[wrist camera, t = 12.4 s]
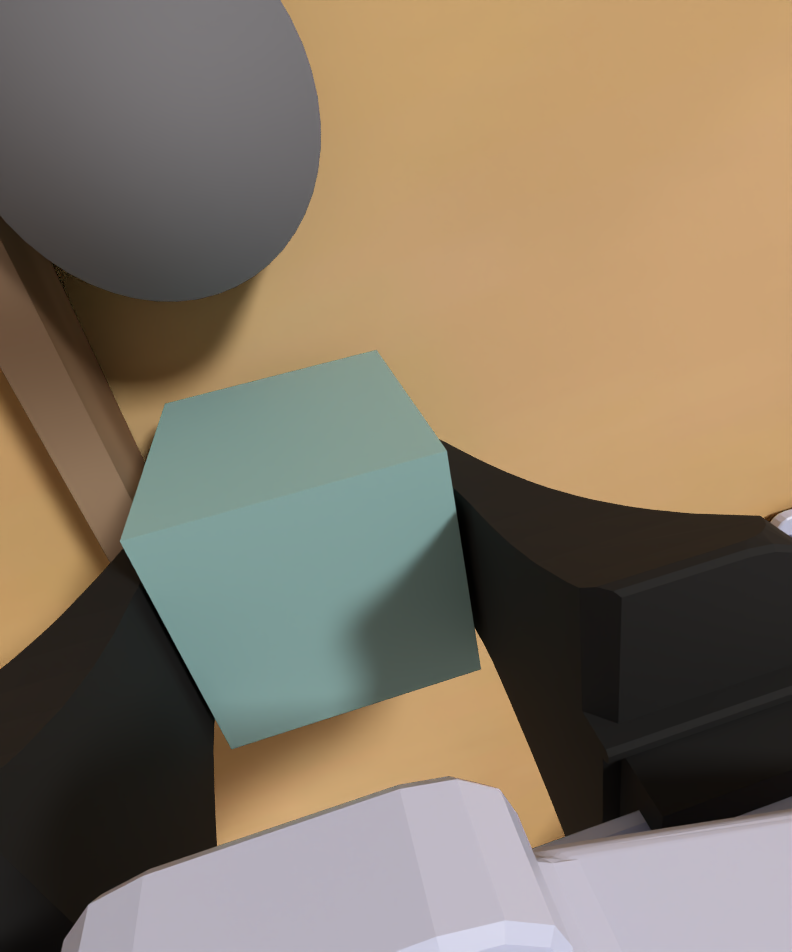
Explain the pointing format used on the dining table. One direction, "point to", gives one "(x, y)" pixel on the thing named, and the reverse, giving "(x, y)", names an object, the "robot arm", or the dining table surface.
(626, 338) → the dining table surface
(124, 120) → the puck
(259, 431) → the block
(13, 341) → the brown angular piece
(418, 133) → the dining table surface
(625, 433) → the dining table surface
